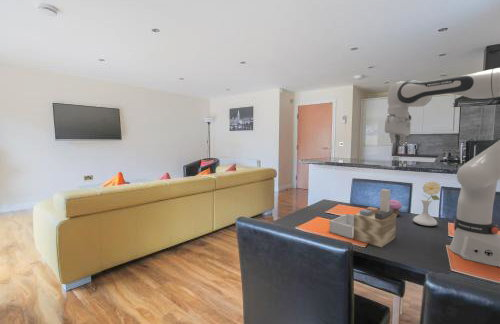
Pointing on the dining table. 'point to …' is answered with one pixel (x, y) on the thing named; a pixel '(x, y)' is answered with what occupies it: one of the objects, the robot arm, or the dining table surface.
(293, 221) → the dining table surface
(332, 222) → the box
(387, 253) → the dining table surface
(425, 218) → the flower in vase
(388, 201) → the scraper
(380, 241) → the wooden grain block
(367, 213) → the slate tile
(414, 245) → the dining table surface
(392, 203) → the cupcake
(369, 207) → the terracotta tile
